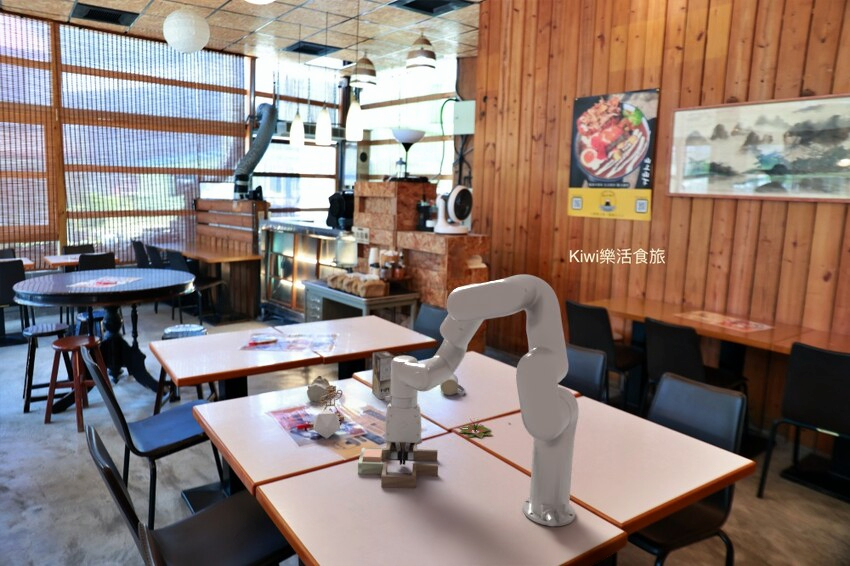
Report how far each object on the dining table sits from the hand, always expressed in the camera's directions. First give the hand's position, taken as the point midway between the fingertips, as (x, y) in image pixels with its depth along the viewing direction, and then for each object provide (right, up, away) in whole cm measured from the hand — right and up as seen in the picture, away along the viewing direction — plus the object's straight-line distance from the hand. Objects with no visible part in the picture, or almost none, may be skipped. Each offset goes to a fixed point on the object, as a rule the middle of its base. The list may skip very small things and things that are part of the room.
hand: (402, 462), depth 163 cm
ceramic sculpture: (-33, +7, +54) cm, 64 cm away
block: (-9, -1, 0) cm, 9 cm away
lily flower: (+23, +1, +26) cm, 35 cm away
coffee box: (-10, +8, +59) cm, 60 cm away
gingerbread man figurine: (-26, +4, +33) cm, 42 cm away
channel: (-1, -1, 0) cm, 2 cm away
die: (-25, +2, +20) cm, 32 cm away
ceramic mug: (+17, +7, +64) cm, 66 cm away
